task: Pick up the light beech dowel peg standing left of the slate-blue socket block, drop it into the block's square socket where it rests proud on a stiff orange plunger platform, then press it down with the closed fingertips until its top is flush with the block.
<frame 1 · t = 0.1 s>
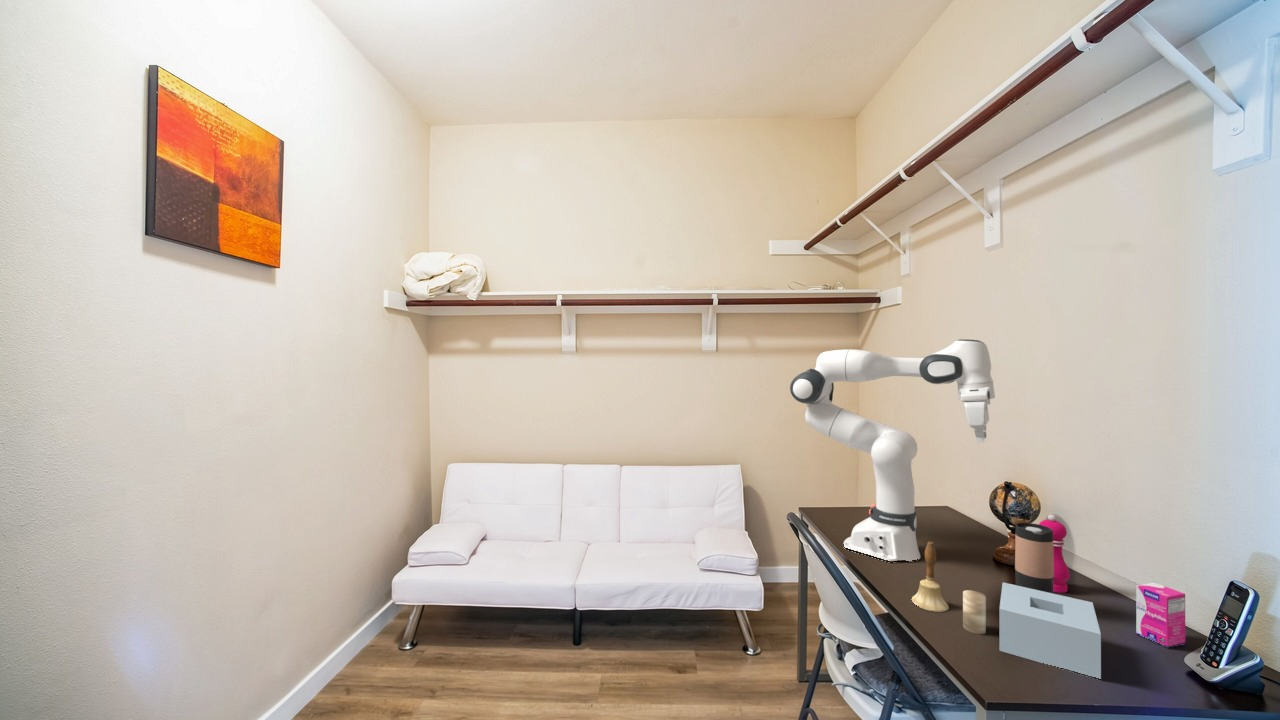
hand: (981, 440, 145), 39 cm above the table, tool pointing down, fingers open, 8 cm apart
hand bell: (929, 605, 126), on the table
peg: (974, 628, 115), on the table
supplement box: (1160, 641, 110), on the table
socket block: (1046, 646, 108), on the table
pepper mill: (1052, 588, 135), on the table
plunger: (1046, 629, 108), point 4 cm above the table, slide at 3.0 cm
travel mug: (1034, 606, 125), on the table
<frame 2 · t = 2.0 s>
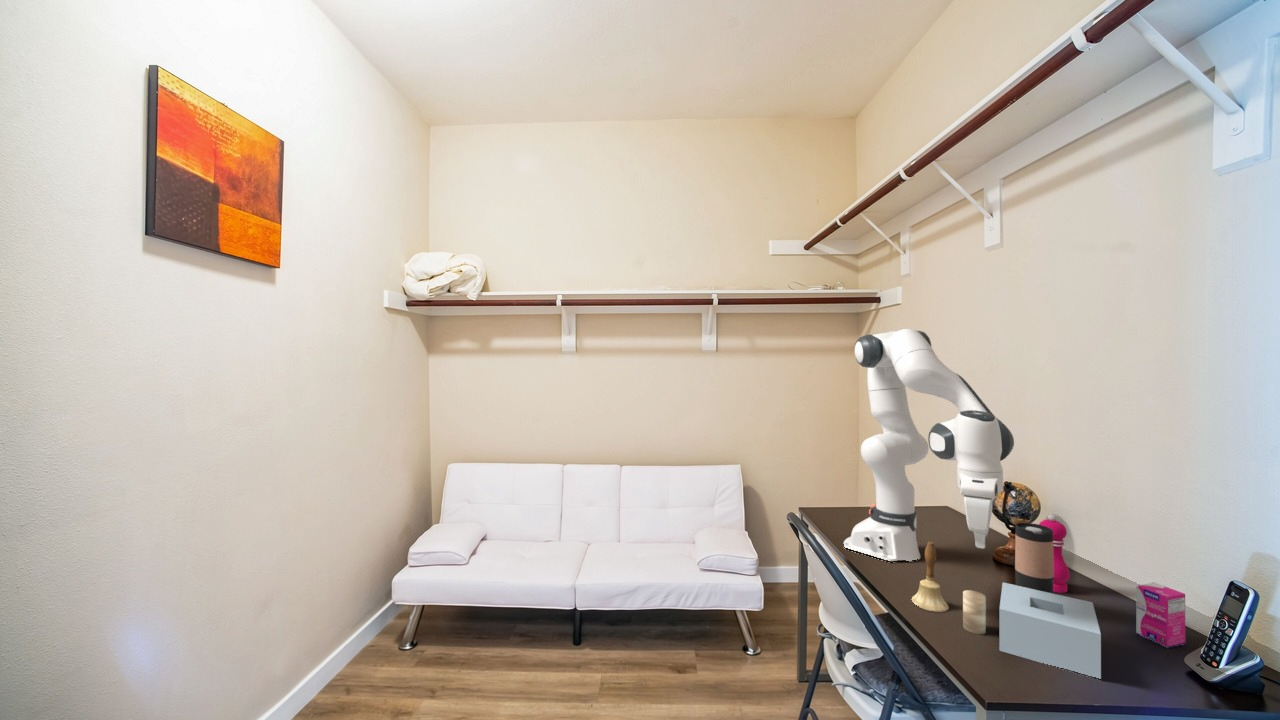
hand: (981, 541, 115), 20 cm above the table, tool pointing down, fingers open, 8 cm apart
nothing on the table moved.
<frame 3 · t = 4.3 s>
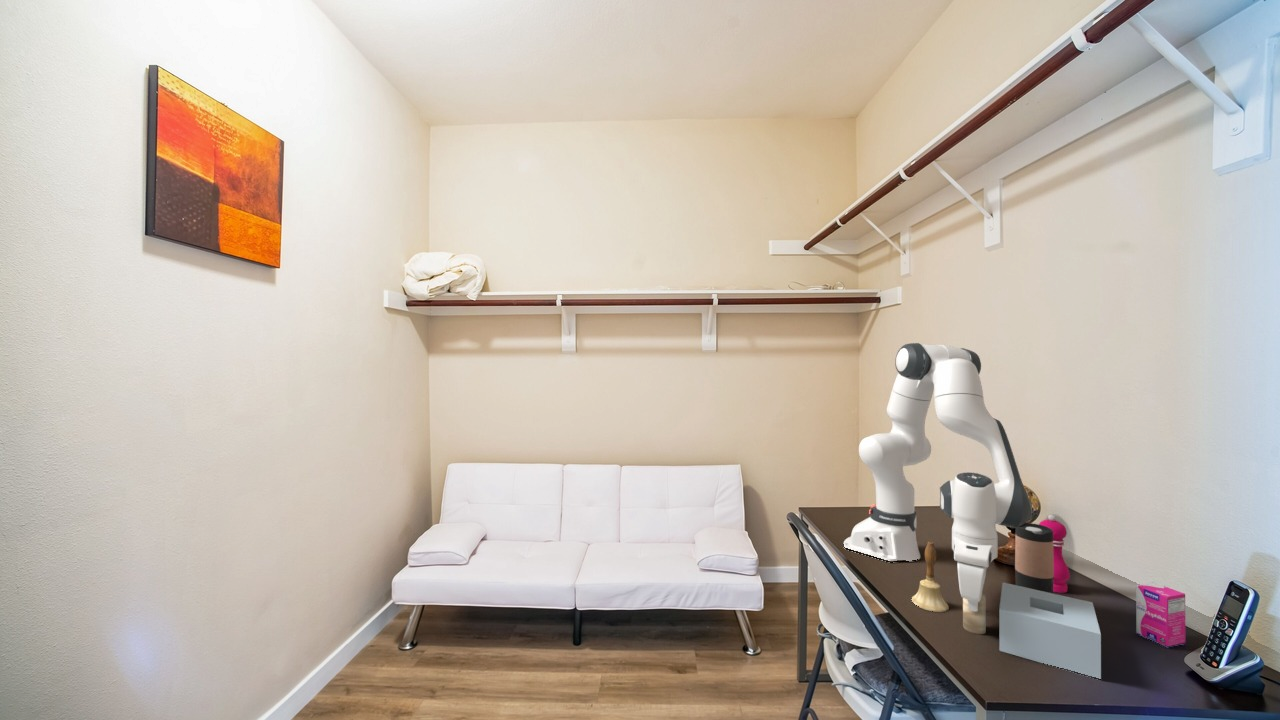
hand: (974, 604, 115), 6 cm above the table, tool pointing down, fingers closed on peg, 4 cm apart
peg: (974, 628, 115), on the table, touching gripper
everything else where it was.
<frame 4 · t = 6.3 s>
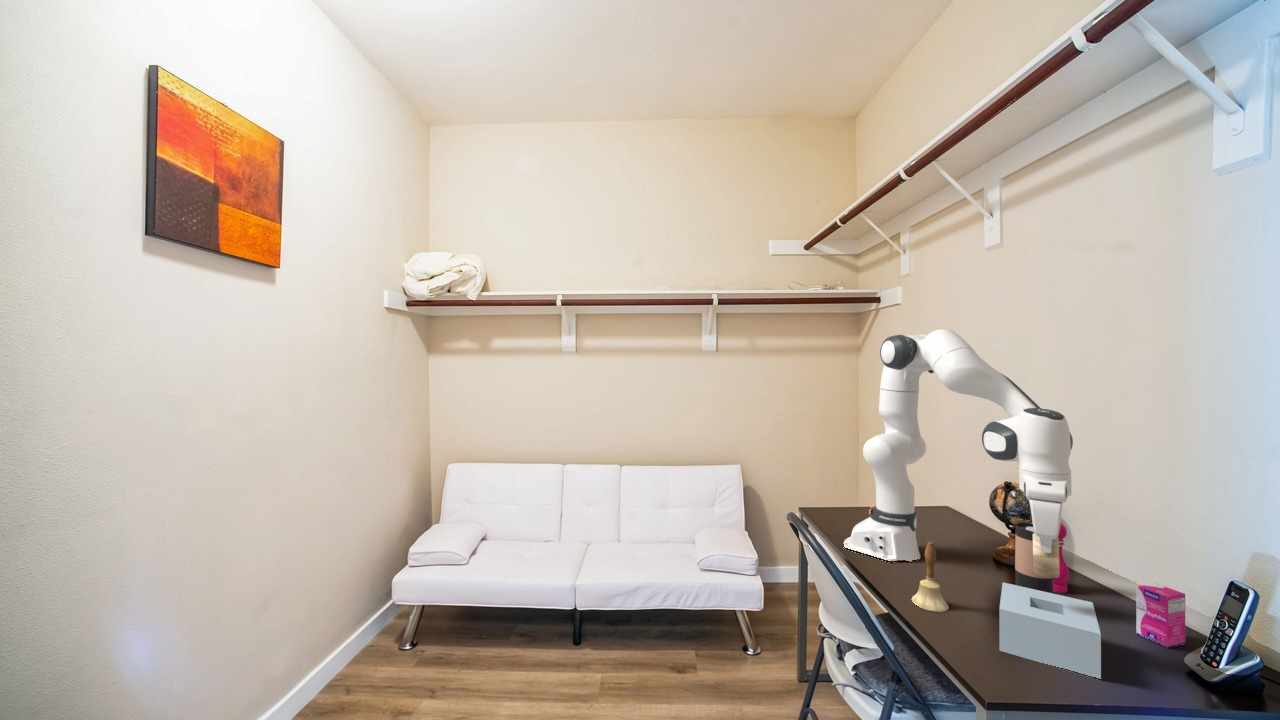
hand: (1045, 547, 107), 22 cm above the table, tool pointing down, fingers closed on peg, 4 cm apart
peg: (1046, 573, 107), point 16 cm above the table, touching gripper
everything else where it was.
when the fingers open (10 cm above the table, at t = 8.8 s): peg stays where it is, resting on plunger.
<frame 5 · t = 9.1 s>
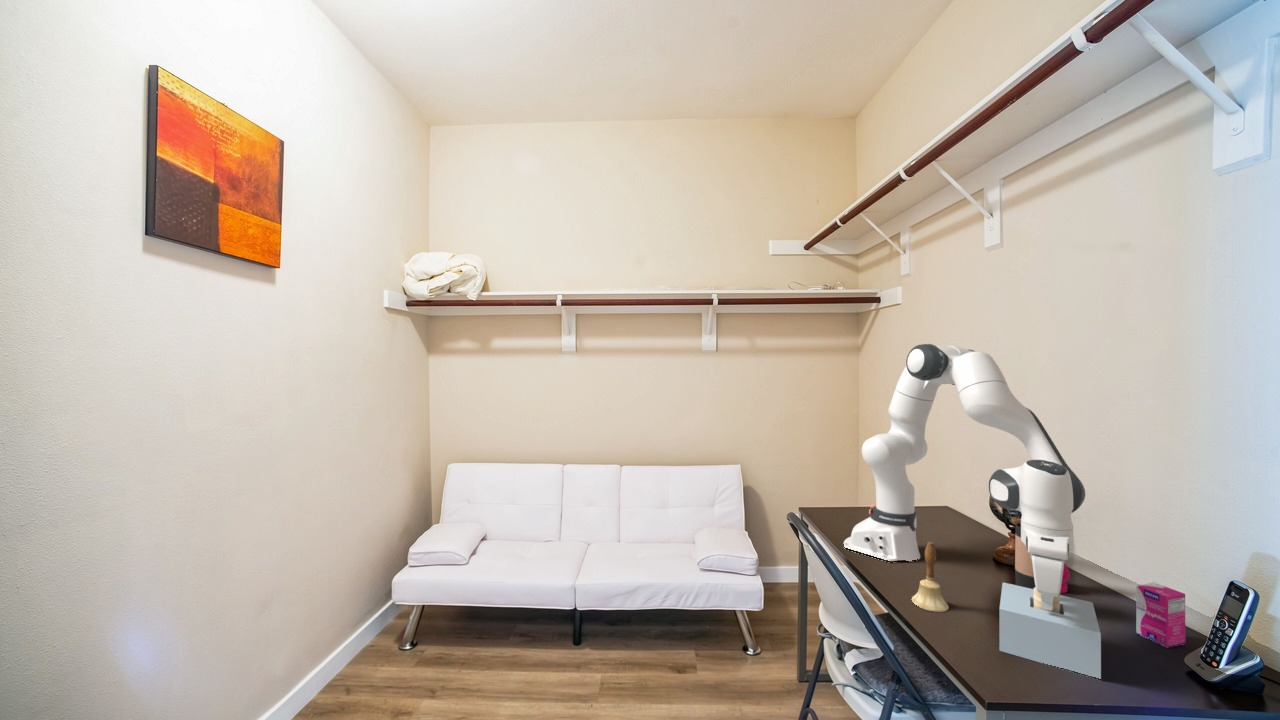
hand: (1046, 600, 108), 10 cm above the table, tool pointing down, fingers open, 7 cm apart
peg: (1046, 628, 108), point 4 cm above the table, touching plunger
plunger: (1046, 630, 108), point 4 cm above the table, slide at 2.8 cm, touching peg
everything else where it was.
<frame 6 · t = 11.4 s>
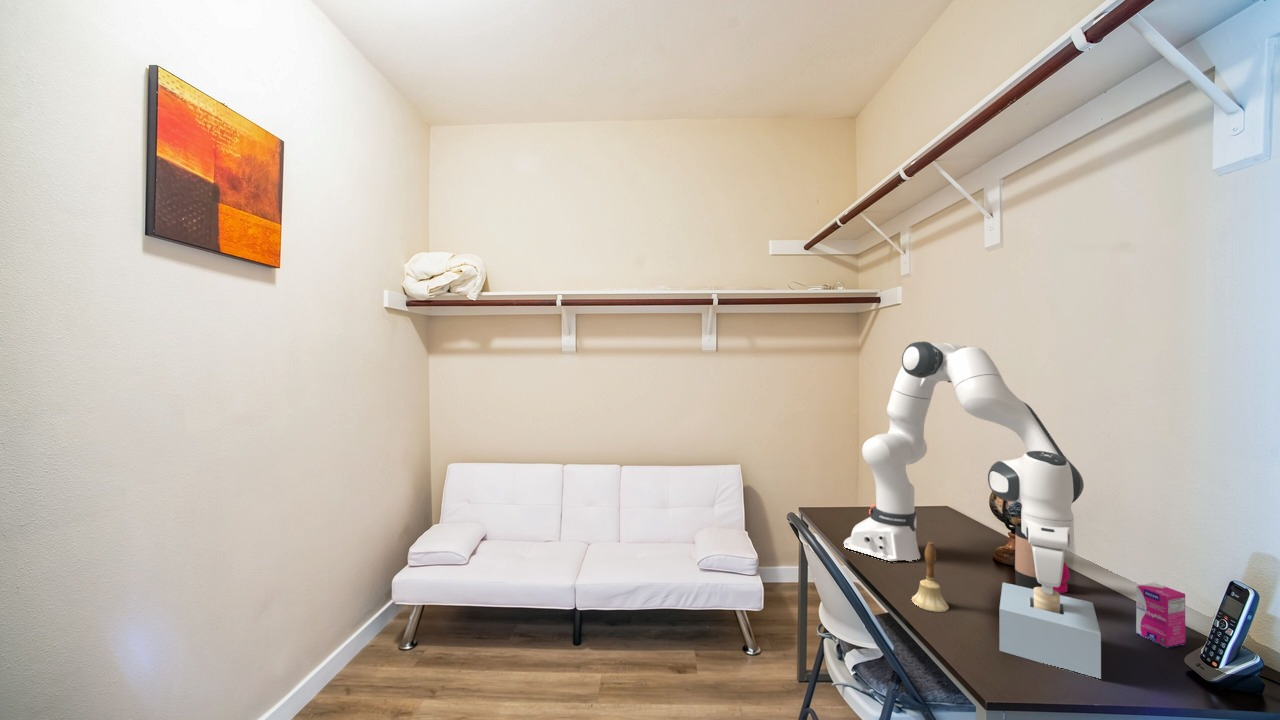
hand: (1047, 591, 107), 12 cm above the table, tool pointing down, fingers closed, pressing on peg
peg: (1046, 628, 108), point 4 cm above the table, touching gripper, plunger
everything else where it was.
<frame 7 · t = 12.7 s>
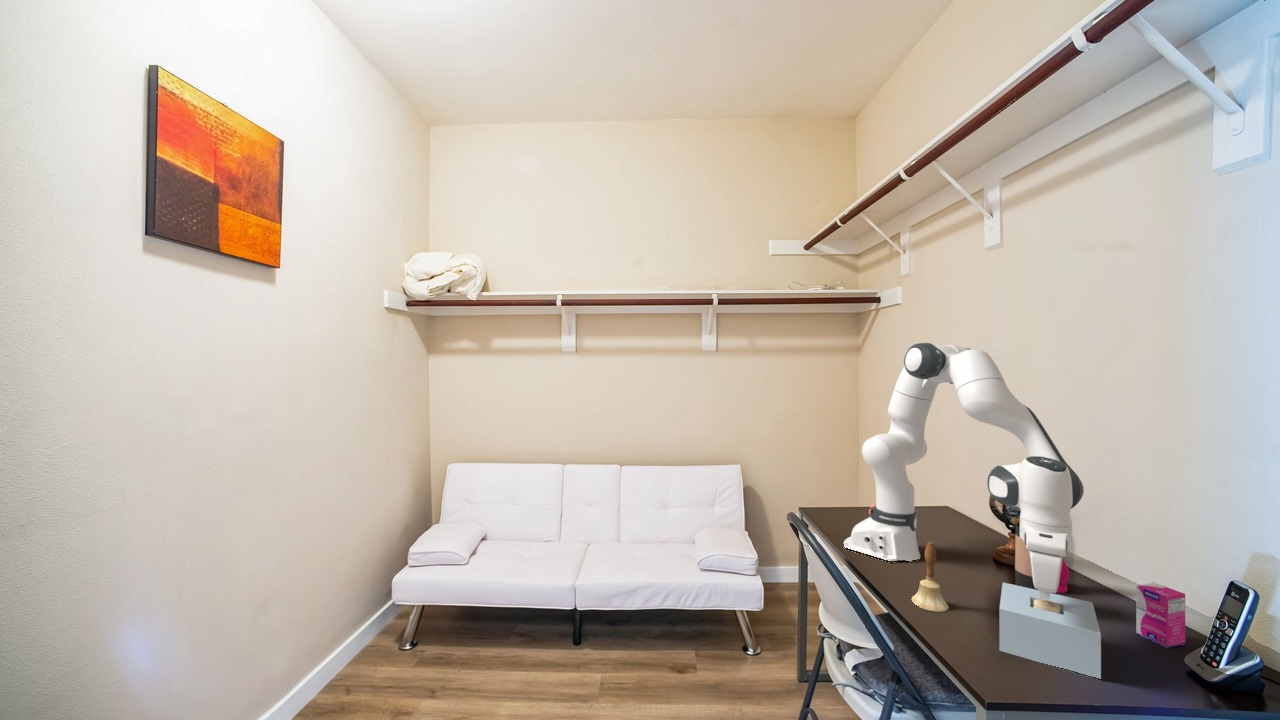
hand: (1044, 596, 108), 11 cm above the table, tool pointing down, fingers closed
peg: (1046, 640, 108), point 1 cm above the table, touching plunger
plunger: (1046, 643, 108), point 1 cm above the table, slide at 0.1 cm, touching peg
everything else where it was.
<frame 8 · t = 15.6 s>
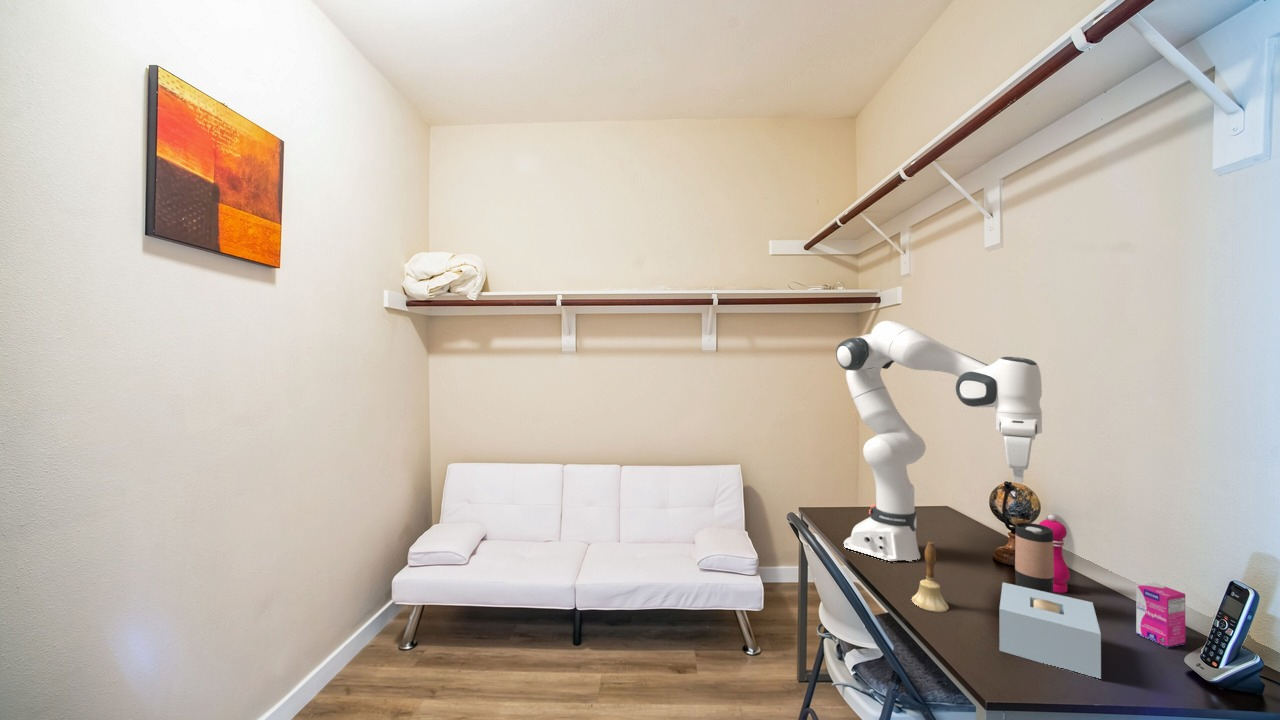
hand: (1018, 481, 119), 33 cm above the table, tool pointing down, fingers closed
nothing on the table moved.
at the end: peg 0.1 cm off-centre on the socket block, point 1.3 cm above the socket block's base; plunger slide at 0.1 cm; peg tilted 0° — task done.
